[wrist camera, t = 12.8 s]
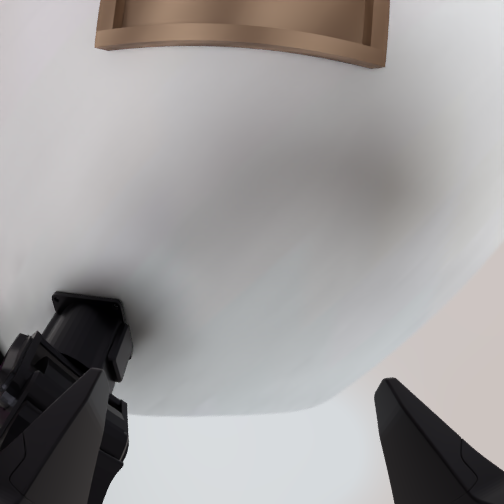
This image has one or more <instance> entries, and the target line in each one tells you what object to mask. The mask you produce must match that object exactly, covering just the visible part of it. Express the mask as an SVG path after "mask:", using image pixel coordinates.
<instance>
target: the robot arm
mask: <svg viewBox="0 0 504 504" xmlns="http://www.w3.org/2000/svg"><path fill="white" fill-rule="evenodd" d="M57 298H58V299H57ZM52 301H53V305H54V308H55V311H56V313H55V314H54V316H53V318H52V319H51V321H50V322H49V324H48V325H47V327H46V329H45V330H44V332H43V333H42V334H40V333H39V332H38V331H36V332H35V333H34V334H33V335H32V336H29V335H28V336H27V335H24V334H21V333H20V334H19V335H18V336H17V337H16V339H15V341H14V342H13V344H12V345H11V347H10V348H9V350H8V352H7V353H6V355H5V357H4V360H3V362H2V364H1V366H0V504H102V503H103V500H104V497H105V495H106V492H107V489H108V487H109V485H110V483H111V481H112V480H113V478H114V476H115V475H116V474H117V472H118V471H119V470H120V469H121V468H122V466H123V460H124V459H125V457H126V454H127V451H128V446H129V439H128V419H127V403H125V402H124V401H123V400H119V399H118V398H116V397H115V396H114V395H112V391H113V388H114V385H115V382H121V381H122V379H123V376H124V373H125V370H126V367H127V363H128V360H130V359H131V357H132V348H133V344H132V340H131V335H130V330H129V326H128V324H127V323H126V322H125V317H124V311H123V306H122V303H121V302H120V301H119V300H117V299H111V298H102V297H93V296H84V295H76V294H68V293H60V292H55V293H54V294H53V295H52ZM115 305H117V306H118V307H116V306H115ZM374 400H375V407H376V414H377V421H378V429H379V436H380V440H381V445H382V449H383V453H384V457H385V462H386V466H387V470H388V475H389V479H390V484H391V488H392V493H393V498H394V503H395V504H504V471H503V470H501V469H500V468H499V467H497V466H496V465H494V464H493V463H492V462H490V461H489V460H487V459H486V458H485V457H483V456H482V455H481V454H480V453H478V452H477V451H476V450H475V449H474V448H472V447H471V446H470V445H469V444H468V443H467V442H466V441H464V440H463V439H461V437H460V436H459V435H458V434H457V433H456V432H454V431H453V430H452V429H451V428H450V427H449V426H448V425H447V424H446V423H445V422H444V421H442V420H441V419H440V418H439V417H438V416H437V415H436V414H434V412H432V411H431V410H430V409H429V408H428V407H427V406H426V405H425V404H424V403H423V402H422V401H420V400H419V399H418V398H417V397H416V396H415V395H413V393H411V392H410V391H409V390H408V389H407V388H406V387H405V386H404V385H403V384H402V383H400V382H399V381H398V380H397V379H396V378H385V379H383V380H382V382H381V383H380V385H379V387H378V389H377V391H376V392H375V396H374Z"/></svg>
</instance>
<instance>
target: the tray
mask: <svg viewBox="0 0 504 504" xmlns="http://www.w3.org/2000/svg"><path fill="white" fill-rule="evenodd" d="M389 7H390V0H101V1H100V7H99V14H98V21H97V29H96V38H95V48H99V49H103V50H107V51H110V50H119V49H129V48H142V47H159V46H224V47H241V48H254V49H264V50H273V51H282V52H289V53H296V54H303V55H309V56H315V57H321V58H326V59H331V60H336V61H341V62H345V63H350V64H354V65H358V66H363V67H367V68H371V69H373V68H381V67H385V62H386V52H387V40H388V25H389Z"/></svg>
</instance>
